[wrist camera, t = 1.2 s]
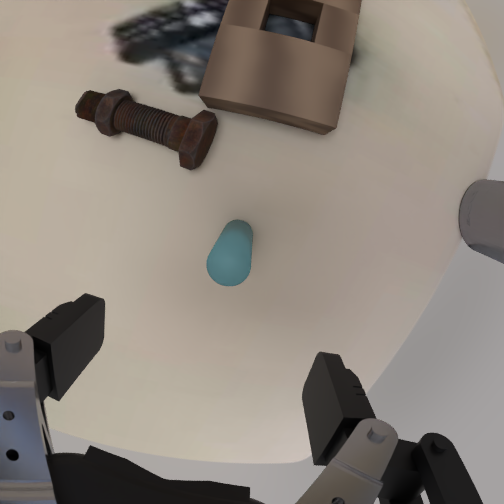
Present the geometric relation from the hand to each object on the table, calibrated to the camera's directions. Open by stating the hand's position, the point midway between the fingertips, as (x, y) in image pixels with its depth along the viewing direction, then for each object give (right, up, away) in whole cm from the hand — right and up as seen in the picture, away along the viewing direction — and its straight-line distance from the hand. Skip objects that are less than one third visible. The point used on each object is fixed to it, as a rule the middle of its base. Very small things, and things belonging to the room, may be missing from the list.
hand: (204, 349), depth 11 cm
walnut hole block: (+5, +26, +16) cm, 31 cm away
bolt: (-9, +17, +19) cm, 27 cm away
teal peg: (0, +5, +21) cm, 22 cm away
